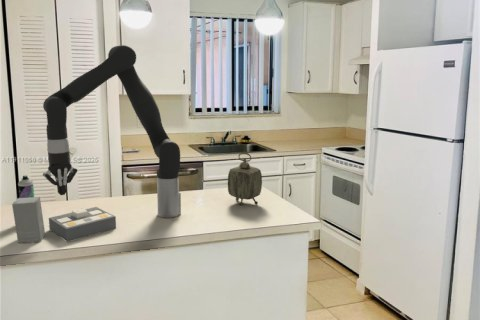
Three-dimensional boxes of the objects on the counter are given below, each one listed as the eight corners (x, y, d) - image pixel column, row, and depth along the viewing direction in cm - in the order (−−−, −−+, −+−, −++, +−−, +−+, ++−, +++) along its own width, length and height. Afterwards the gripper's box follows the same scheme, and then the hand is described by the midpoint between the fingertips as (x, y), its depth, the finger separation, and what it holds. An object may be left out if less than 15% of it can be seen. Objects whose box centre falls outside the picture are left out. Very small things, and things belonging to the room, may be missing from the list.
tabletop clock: (261, 204, 209) (262, 153, 203) (251, 209, 201) (252, 156, 196) (235, 199, 216) (236, 149, 211) (225, 203, 209) (226, 152, 204)
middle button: (82, 215, 178) (82, 208, 178) (88, 218, 175) (87, 211, 175) (72, 217, 175) (71, 210, 175) (77, 220, 172) (76, 213, 172)
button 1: (67, 224, 174) (67, 217, 174) (72, 227, 171) (72, 219, 171) (56, 226, 171) (56, 219, 170) (61, 230, 168) (60, 222, 167)
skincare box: (45, 235, 168) (42, 195, 164) (40, 243, 161) (36, 201, 157) (21, 236, 166) (18, 196, 163) (15, 244, 160) (11, 202, 156)
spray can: (25, 220, 183) (20, 174, 178) (38, 220, 183) (34, 174, 179) (19, 225, 177) (15, 177, 173) (33, 225, 178) (29, 177, 173)
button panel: (96, 217, 187) (96, 206, 186) (116, 228, 176) (115, 215, 175) (49, 229, 173) (48, 217, 172) (67, 241, 162) (66, 228, 161)
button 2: (98, 216, 183) (97, 209, 183) (103, 219, 180) (102, 212, 180) (88, 219, 180) (87, 212, 180) (93, 221, 177) (92, 214, 176)
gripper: (44, 154, 157) (49, 200, 161) (80, 149, 166) (83, 193, 170) (36, 151, 162) (41, 196, 166) (71, 146, 172) (74, 189, 175)
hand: (62, 194), depth 168 cm, fingers closed
